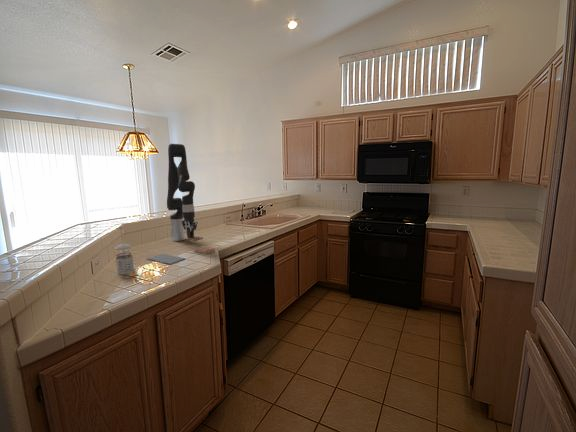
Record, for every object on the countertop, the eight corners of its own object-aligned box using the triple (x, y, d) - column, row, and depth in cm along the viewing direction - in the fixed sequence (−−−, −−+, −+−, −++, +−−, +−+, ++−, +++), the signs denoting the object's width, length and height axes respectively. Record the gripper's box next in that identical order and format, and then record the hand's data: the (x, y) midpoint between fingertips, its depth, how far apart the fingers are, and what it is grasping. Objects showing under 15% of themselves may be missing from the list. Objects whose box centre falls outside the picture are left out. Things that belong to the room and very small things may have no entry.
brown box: (185, 239, 190) (184, 229, 189) (193, 237, 196) (192, 227, 195) (195, 241, 185) (194, 231, 184) (203, 238, 191) (202, 229, 190)
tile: (194, 248, 186) (205, 250, 181) (203, 245, 193) (214, 247, 188) (194, 252, 187) (205, 254, 182) (203, 249, 194) (214, 251, 189)
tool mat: (146, 259, 173) (146, 258, 173) (162, 254, 183) (162, 253, 183) (169, 264, 162) (169, 263, 162) (185, 259, 172) (185, 258, 172)
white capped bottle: (131, 266, 160) (126, 224, 156) (140, 271, 153) (135, 226, 149) (112, 271, 152) (106, 227, 148) (120, 276, 145) (115, 229, 141)
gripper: (200, 210, 189) (201, 235, 192) (185, 209, 196) (187, 233, 199) (191, 212, 183) (193, 237, 185) (176, 211, 190) (179, 235, 192)
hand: (190, 235), depth 192 cm, fingers closed on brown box, 3 cm apart
